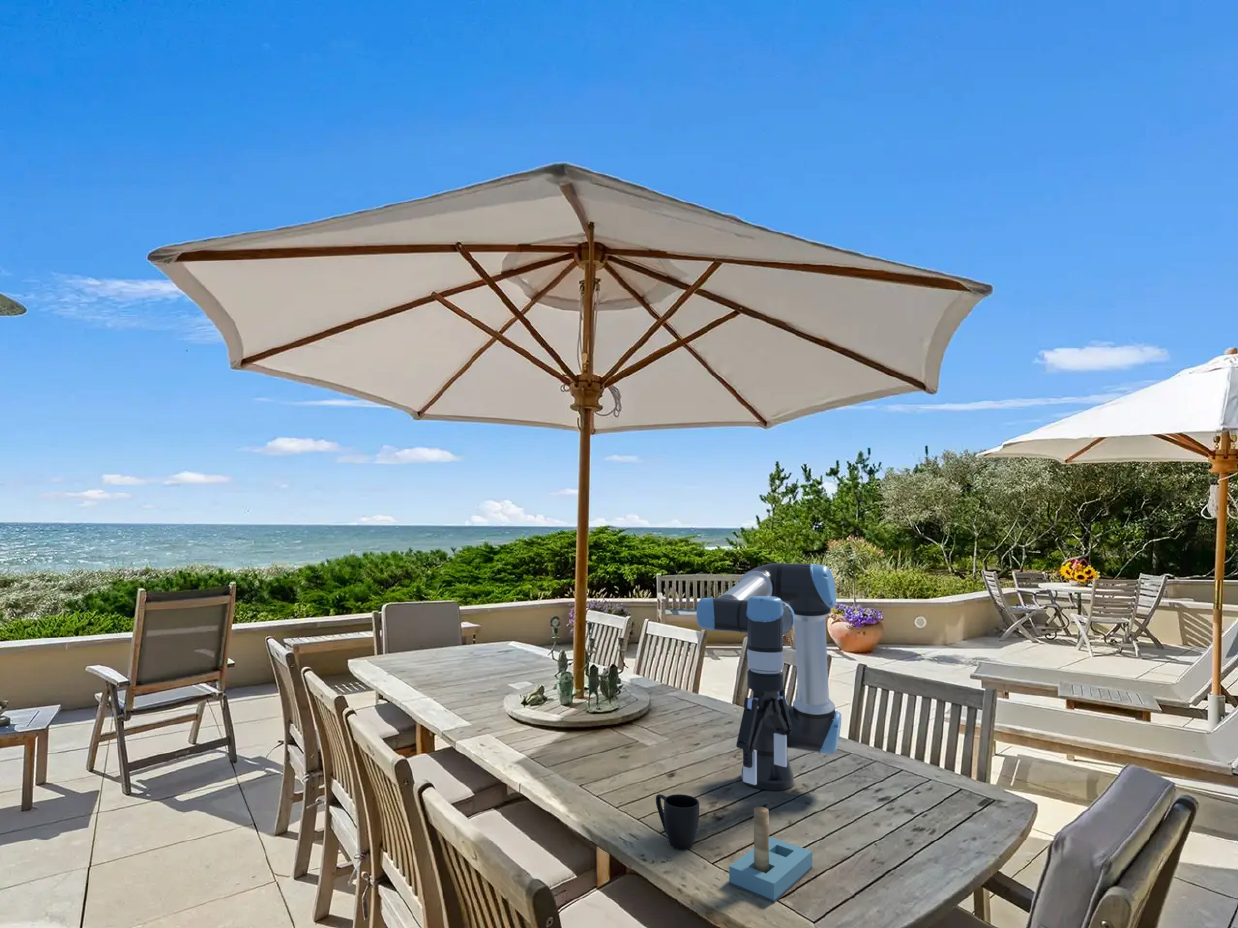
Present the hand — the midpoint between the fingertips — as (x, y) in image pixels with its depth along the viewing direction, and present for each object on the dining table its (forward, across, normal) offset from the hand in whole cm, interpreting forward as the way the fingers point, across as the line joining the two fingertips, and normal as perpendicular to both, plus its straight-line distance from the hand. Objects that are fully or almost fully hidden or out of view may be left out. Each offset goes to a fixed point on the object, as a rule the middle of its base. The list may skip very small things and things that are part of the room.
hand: (765, 773), depth 134 cm
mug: (+22, -2, -24) cm, 32 cm away
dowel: (+21, +2, 0) cm, 21 cm away
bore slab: (+21, -3, 0) cm, 21 cm away
